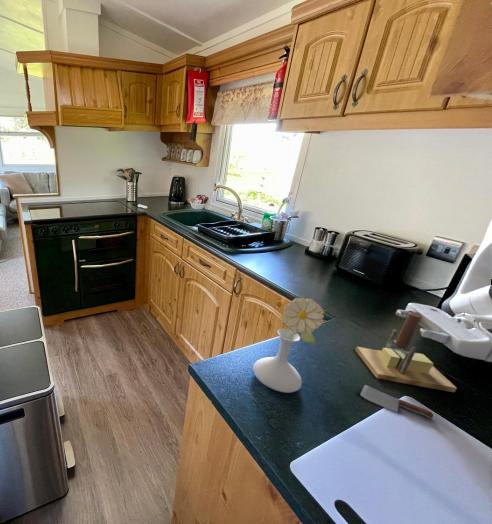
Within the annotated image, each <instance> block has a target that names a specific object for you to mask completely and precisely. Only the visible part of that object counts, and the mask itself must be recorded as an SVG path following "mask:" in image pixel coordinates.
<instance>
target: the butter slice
mask: <svg viewBox="0 0 492 524" xmlns="http://www.w3.org/2000/svg"><path fill="white" fill-rule="evenodd" d="M381 351H382V352H381V354H380V356H379V358H380V359H381V361H382V362H383V363H384V364H385V365H386V366H387V367H391V368H396V366H397V363H398V361H399V359H400V357H399V356H398V355H397V354H396V353H395V352H394V351H393V350H392V349H389V348H385V347H382V349H381Z"/></svg>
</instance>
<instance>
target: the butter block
mask: <svg viewBox="0 0 492 524" xmlns="http://www.w3.org/2000/svg"><path fill="white" fill-rule="evenodd" d="M407 352H408V353H409V351H407ZM432 366H434V363H433V361H431V359H430V358H428V357H427V356H426V355H425V354H424V353H419V352H415V354H414V356H413V358H412V360H411V362H410V364H409V366H408V368H407V370H408V371H414V372H420V373H425V374H428V373H429V371H430V369H431V368H432Z"/></svg>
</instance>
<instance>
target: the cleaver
mask: <svg viewBox="0 0 492 524" xmlns="http://www.w3.org/2000/svg"><path fill="white" fill-rule="evenodd" d="M359 395H360V396H361V397H362V398H364V399H365V400H367V401H369V402H371V403H373V404H376V405H378V406H380V407H383V408H384V409H387V410H389V411H392V412H396V413H398V412H399V409H398V408H399V407H401V408H403V409H405V410H408V411H410V412H412V413H415V414H417V415H421V416H423V417H425V418H427V419H433V418H434V414H433V412H432V411H430V410H429V409H427V408H424V407H421V406H418V405H416V404H413V403H410V402H408V401H405V400H403V399H401V398H397V397H394V396H391V395H389V394H387V393H384V392H382V391H380V390H378V389H376V388H373V387H371V386H370V385H367V384H364V386H363V388H362V389H361V392H360V394H359Z"/></svg>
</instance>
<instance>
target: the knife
mask: <svg viewBox="0 0 492 524" xmlns="http://www.w3.org/2000/svg"><path fill="white" fill-rule="evenodd" d="M421 319H422V316H421V315H419V314H417V313H413V312H410V313H409V314H408V316H407V317H406V318H405V321H404V323H403V325H402V328H401V329H400V331H399V333H398V336H397V338H396V339H394V340H393V339H392V341H391V342H392V345H391V347H390V349H392V350H393V351H394V352H395V353H396V354H397V355H398V356H399V357H400V359H399V361H398V363H397V366H396V368H397V369H398V370H399V371H400V369H401V367H402V365H403V363H404V361H405V359H406V357H407V355H408V352H409V351H408V350H407V349H408V347H409V345H410V343H411V341H412V339H413V337H414V335H415V333H416V331H417V329H418V327H419V326H420V325H419V323H420V321H421Z"/></svg>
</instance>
